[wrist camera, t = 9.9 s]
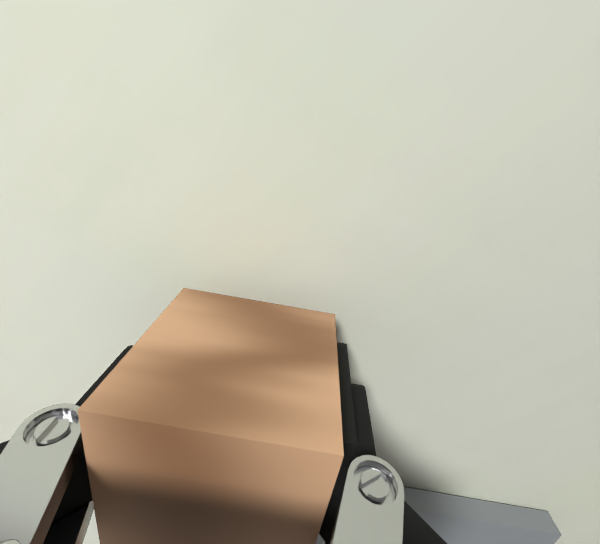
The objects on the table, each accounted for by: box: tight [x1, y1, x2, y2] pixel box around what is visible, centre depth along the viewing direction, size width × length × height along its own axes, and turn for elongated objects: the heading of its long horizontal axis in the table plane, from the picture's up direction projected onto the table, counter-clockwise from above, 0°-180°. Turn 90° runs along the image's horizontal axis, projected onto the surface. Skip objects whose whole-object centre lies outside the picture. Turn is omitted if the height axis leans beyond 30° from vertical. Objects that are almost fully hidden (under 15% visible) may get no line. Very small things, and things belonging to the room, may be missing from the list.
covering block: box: [77, 288, 344, 544], centre depth 9 cm, size 5×5×5 cm
